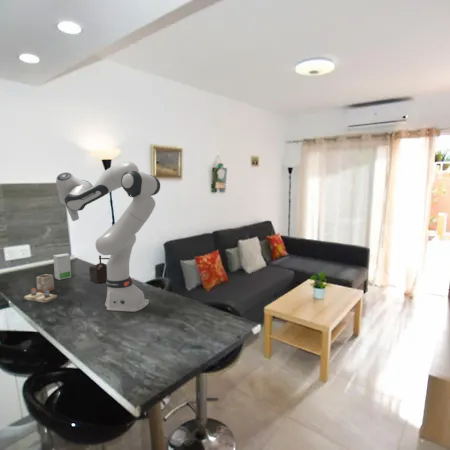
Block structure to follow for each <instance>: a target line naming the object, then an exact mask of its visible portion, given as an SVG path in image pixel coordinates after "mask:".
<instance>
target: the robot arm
mask: <svg viewBox="0 0 450 450" xmlns="http://www.w3.org/2000/svg"><path fill="white" fill-rule="evenodd" d="M55 180H56V181H55V182H56V190H57V192H58V198H59V202H60V203H61V204H62V205H64V206H65V208H66V210H67V212H68V214H69V216H70V219H71V220H72V222H74V221H77V220H79V219H80V216H79V211H83V210H84V208H85V207H86V206H87V205H89V204H92V203H94V202H95V201H97V200H99V199H102V197H104V196H106V195H108V194H110V193H112V192H114V191H115V190H117V189H120V188H123V191H125V193H126V194H127V196H128V197H129V198H132V201H131V203H130V204H129V205H128V206H127V208H126V209H125V211H124V212H123V214H121V216H120V217H119V219H117V221H115V223H113V225H111V226H110V227H109V228H108V229H107V230H106V231H105V232H104V233H103V234H102V235H100V236H99V237H98V238H97V239H96V241H95V248H96V251H97V252H98V253H99V255H101V256H110V257H109V258H110V259H107V262H106V264H107V279H106V282H105V284H106V288H107V289H106V299H105V303H104V307H106V311H114V312H115V311H117V312H131V313H132V312H133V313H134V312H139V311H140V310H142V309H144V308H145V307H147V306H148V305H149V303H150V300H149V299H146V298H145V294H144V291H143V290H141V289H140V288H139V287H137V286H136V285H135V284H134V281H135V278H132V277H131V276H130V261H131V256H132V250H133V247H134V245H135V243H136V241H137V236H136V234H137V233H138V232H139V231H140V230H141V228H143V226H144V225H145V223H146V222H147V221H148V220H149V218H150V216H151V215H152V213H153V211H154V210H155V207H156V200H155V198H153V196H156V195H157V194H158V193H159V192H160V190H161V183H160V180H159V179H158V178H157V177H156V176H154V175H151V174H147V173H145V172H142V171H140V170H139V167H138V166H137V165H136V164H135V163H134V162H131V161H127V162H122V163H117V164H115V165H112V166H111V167H108V168H107V169H105V171H103V172H102V174H101V175H100V176H99V179H97V181H96V182H95V183H94V184H93V185H92V184H91V182H89V181H88V180H84V179H79V178H77V177H75V176H74V175H73V174H72V173H70V172H62V173H60V174H58V175H57V177H56V178H55Z"/></svg>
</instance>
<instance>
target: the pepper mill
mask: <svg viewBox="0 0 450 450" xmlns="http://www.w3.org/2000/svg"><path fill="white" fill-rule="evenodd" d="M109 259H110V257H102V254H99V255H98V260H99V263H97V264H95V265H91V266H89V269H88V271H89V281H90V282H93V283H94V284H99V283H100V284H103V283H106V279H107V263H104V262H102V260H109Z"/></svg>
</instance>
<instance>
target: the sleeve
mask: <svg viewBox="0 0 450 450" xmlns="http://www.w3.org/2000/svg"><path fill="white" fill-rule="evenodd" d="M35 280H36V281H35V282H36V292H39V293H44V291H45V290H49V293H50V292H52V291H54V290H55V285H54V284H55V281H54V274H48V273H44V274H41V275H38V276H36V277H35Z"/></svg>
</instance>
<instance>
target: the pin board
mask: <svg viewBox="0 0 450 450" xmlns="http://www.w3.org/2000/svg"><path fill="white" fill-rule="evenodd" d="M57 298H58V295H57V294H52V293H50V292H49V290H45V291H44V293H39V292H37V288H36V287H32V288H31V289H30V293H29V294H27V295H26V294H25V295H24V296H23V300H27V301H34V302H39V303H40V302H41V303H46V304H47V303H48V302H51V301H53V300H54V299H57Z"/></svg>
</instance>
